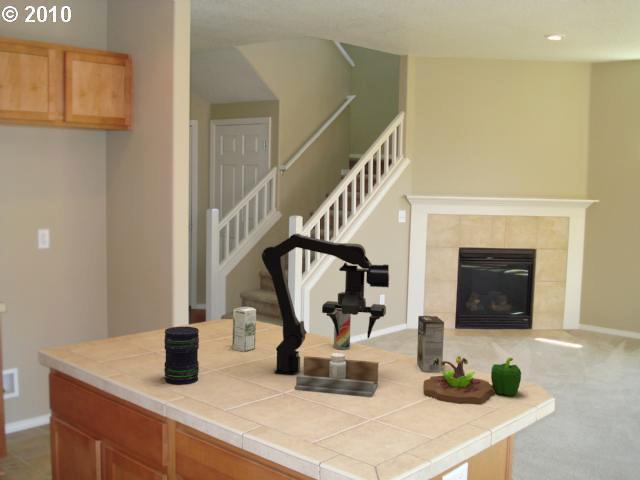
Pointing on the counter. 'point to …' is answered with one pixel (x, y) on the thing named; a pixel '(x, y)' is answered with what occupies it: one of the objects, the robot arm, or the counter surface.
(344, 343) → the lotion bottle
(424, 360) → the coffee box
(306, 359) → the cleat board
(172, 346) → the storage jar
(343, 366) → the pill bottle
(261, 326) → the counter surface
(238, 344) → the syrup box
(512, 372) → the bell pepper
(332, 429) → the counter surface
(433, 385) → the plant
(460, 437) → the counter surface
